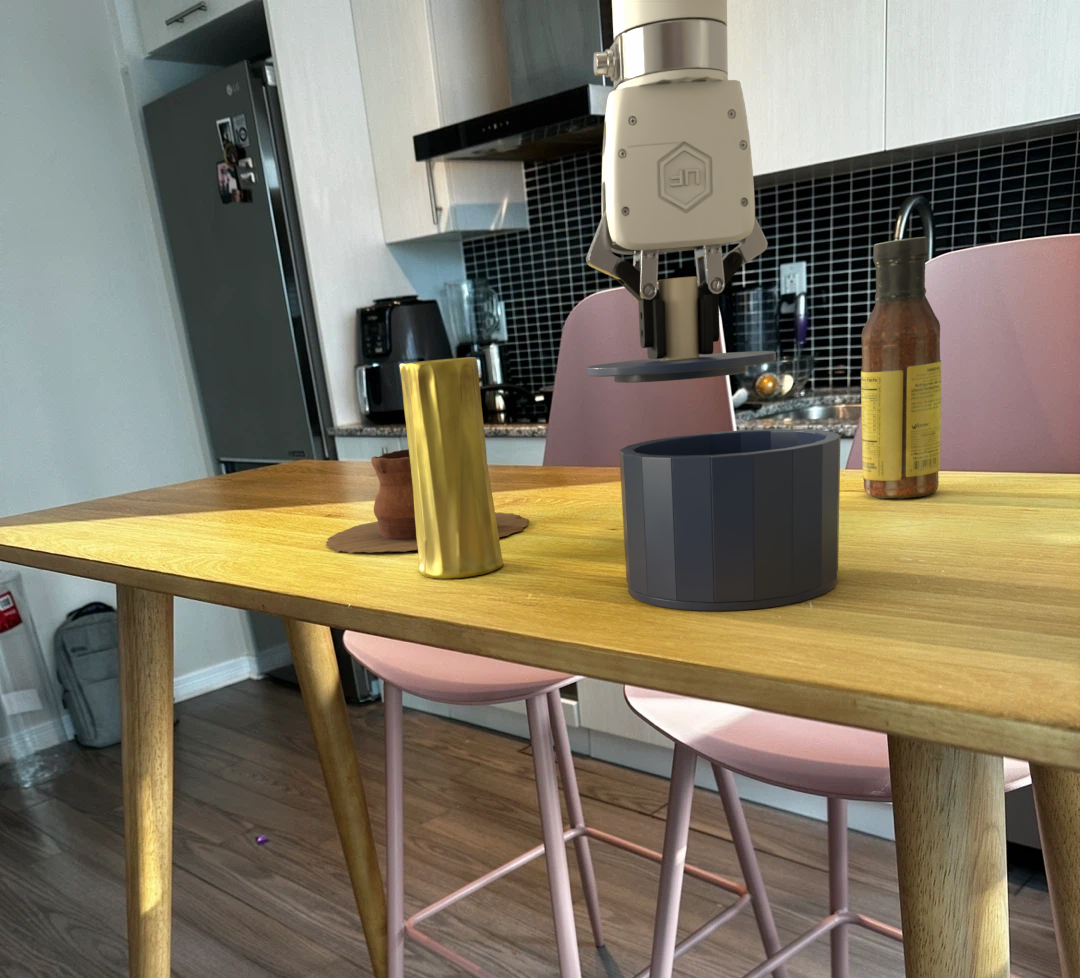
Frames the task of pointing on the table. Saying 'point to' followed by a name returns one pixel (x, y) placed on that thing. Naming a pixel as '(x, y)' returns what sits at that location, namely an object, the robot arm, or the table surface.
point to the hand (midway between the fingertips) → (680, 353)
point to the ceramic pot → (398, 512)
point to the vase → (449, 469)
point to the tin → (731, 518)
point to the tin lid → (681, 345)
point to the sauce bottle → (901, 377)
